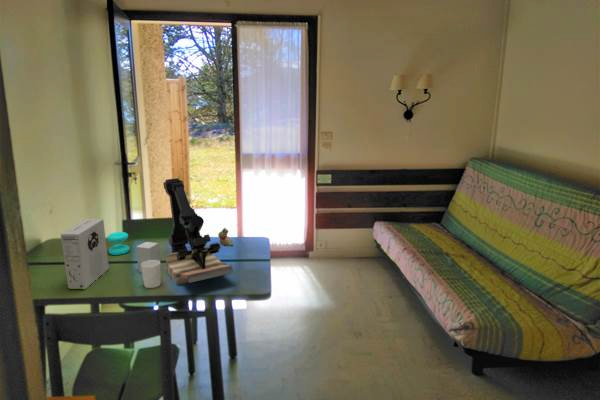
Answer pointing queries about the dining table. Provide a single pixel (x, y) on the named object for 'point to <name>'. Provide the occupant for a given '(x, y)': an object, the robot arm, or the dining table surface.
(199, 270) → the panel
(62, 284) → the dining table surface
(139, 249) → the supplement box
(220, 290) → the dining table surface
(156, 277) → the white cup
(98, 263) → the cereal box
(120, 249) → the donuts
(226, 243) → the chocolate bunny
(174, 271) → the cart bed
